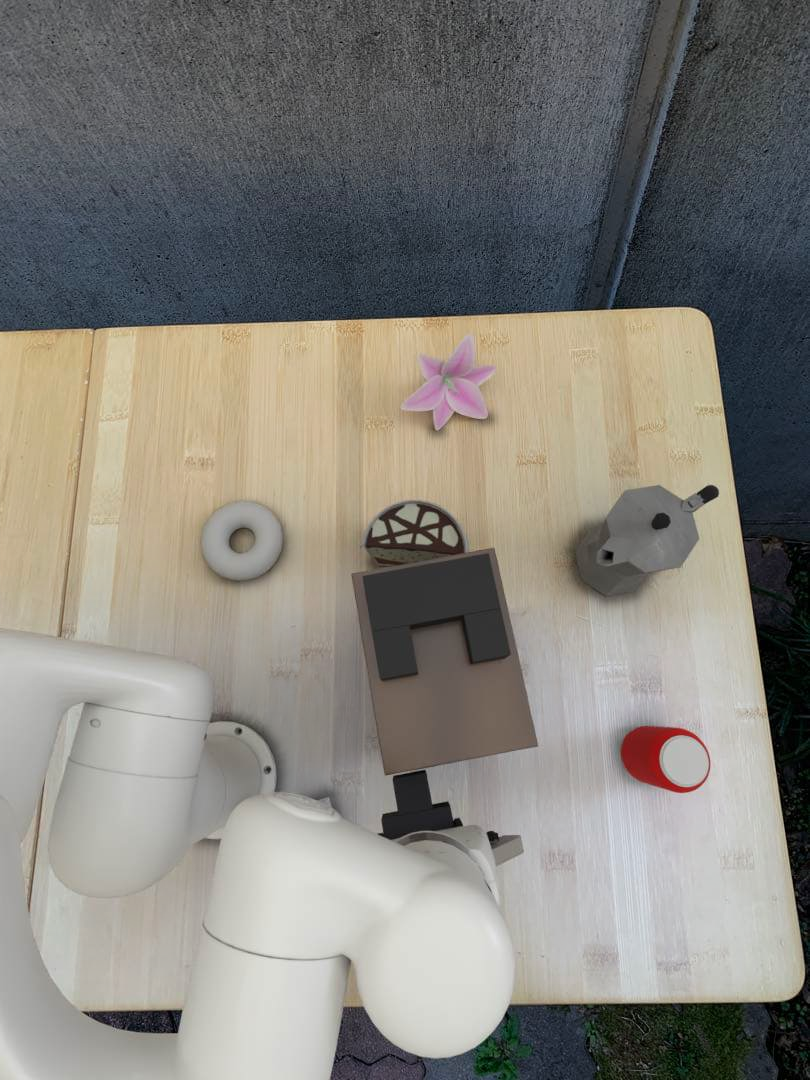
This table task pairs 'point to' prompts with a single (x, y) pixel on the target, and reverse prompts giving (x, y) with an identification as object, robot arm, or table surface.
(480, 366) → the lily
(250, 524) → the donut
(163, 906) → the table surface
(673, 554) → the coffeepot
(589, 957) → the table surface
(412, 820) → the charcoal pad
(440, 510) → the chocolate cake
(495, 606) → the black pad
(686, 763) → the beverage can
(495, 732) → the walnut stand
